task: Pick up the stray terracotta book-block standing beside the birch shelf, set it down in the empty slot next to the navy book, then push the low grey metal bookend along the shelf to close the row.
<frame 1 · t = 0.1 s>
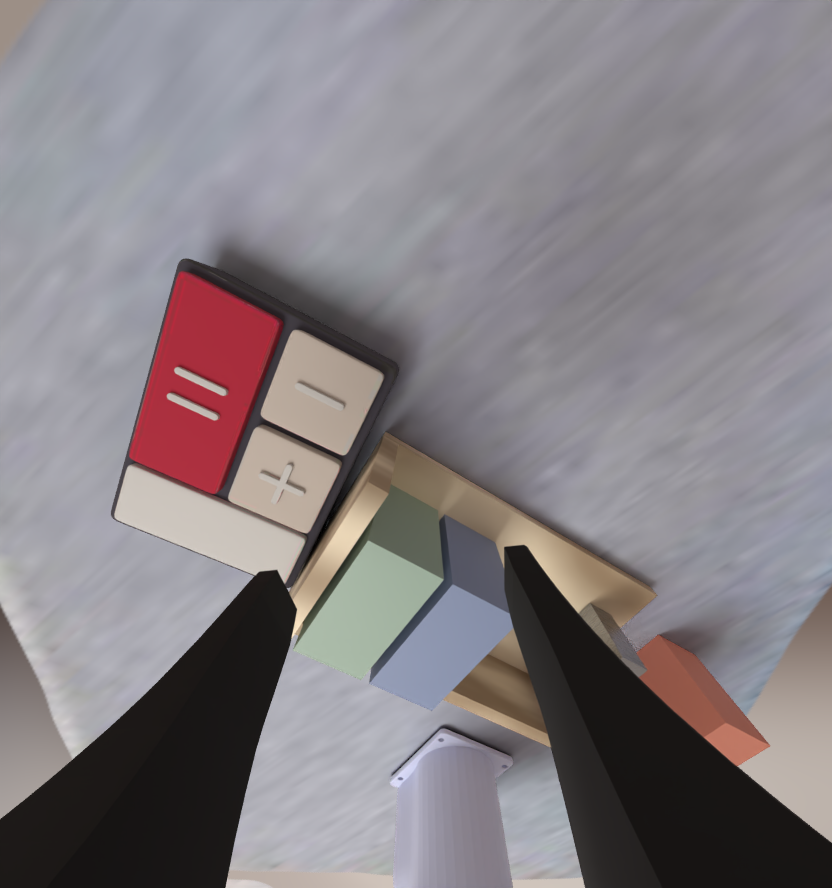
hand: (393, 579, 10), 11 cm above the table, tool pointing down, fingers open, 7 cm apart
book a: (379, 540, 22), point 1 cm above the table, touching shelf
calculator: (271, 430, 21), on the table
bookend: (579, 665, 22), point 3 cm above the table, slide at 0.0 cm
shelf: (476, 576, 23), on the table
book b: (436, 570, 22), point 1 cm above the table, touching shelf
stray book: (638, 673, 27), on the table
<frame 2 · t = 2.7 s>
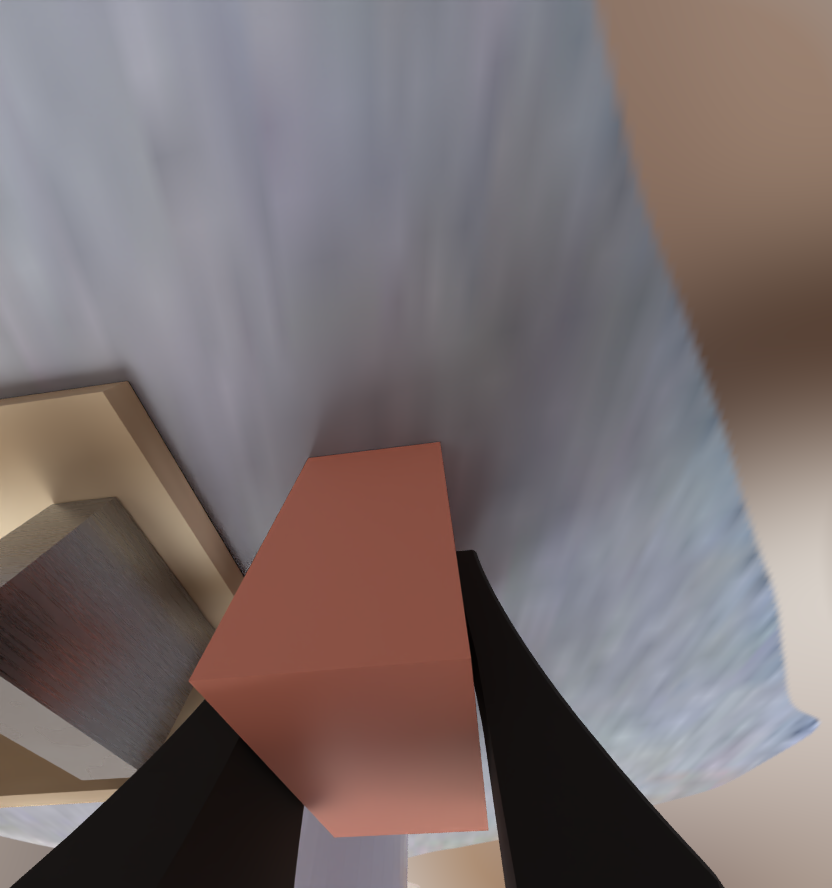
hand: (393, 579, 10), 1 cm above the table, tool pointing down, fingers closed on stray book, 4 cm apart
bookend: (98, 638, 9), point 3 cm above the table, slide at 0.0 cm
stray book: (395, 545, 12), on the table, touching gripper
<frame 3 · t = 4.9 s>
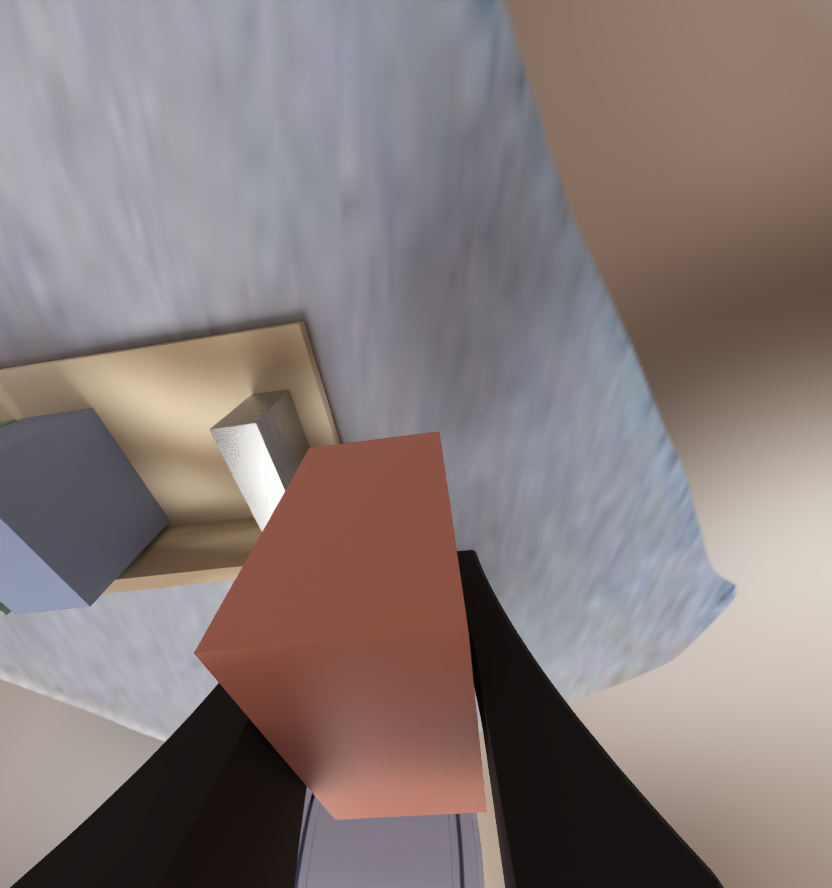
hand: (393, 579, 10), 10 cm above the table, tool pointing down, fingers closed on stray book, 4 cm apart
bookend: (279, 469, 17), point 3 cm above the table, slide at 0.0 cm
shelf: (157, 453, 20), on the table
book b: (104, 474, 19), point 1 cm above the table, touching shelf
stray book: (395, 535, 12), point 8 cm above the table, touching gripper
when the fingers open (4 cm above the table, at t = 7.3 s): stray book drops 2 cm, resting on shelf.
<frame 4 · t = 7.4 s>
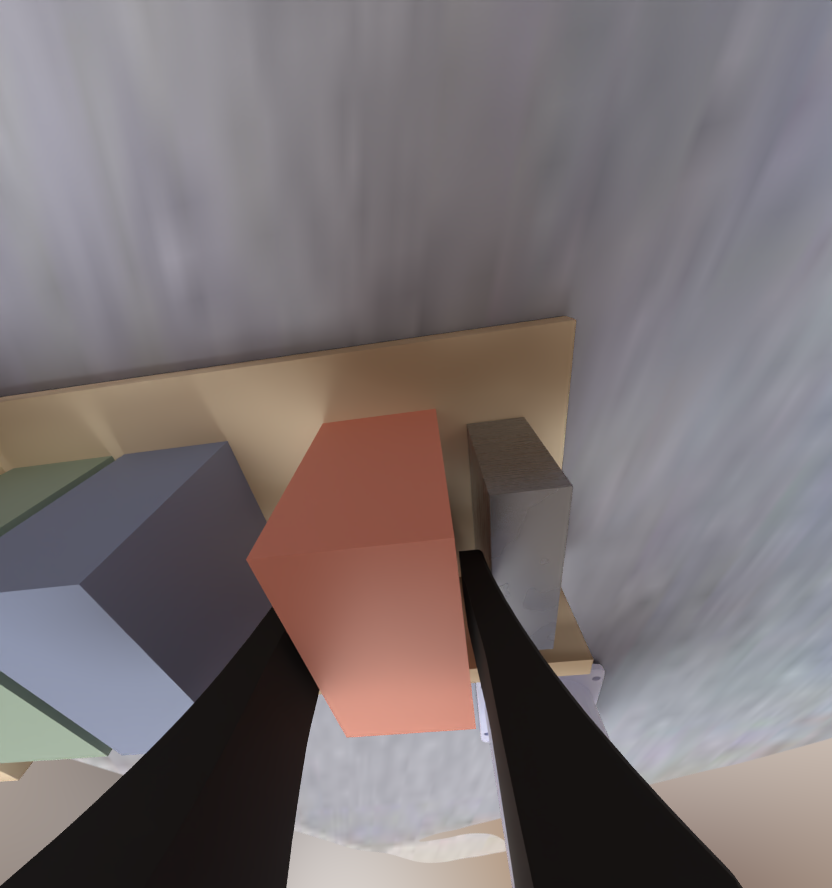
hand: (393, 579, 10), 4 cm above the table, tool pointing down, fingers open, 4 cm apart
book a: (123, 539, 14), point 1 cm above the table, touching shelf
bookend: (509, 535, 11), point 3 cm above the table, slide at 0.0 cm, touching gripper
shelf: (294, 499, 14), on the table
book b: (222, 528, 14), point 1 cm above the table, touching shelf
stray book: (397, 504, 13), point 1 cm above the table, touching shelf
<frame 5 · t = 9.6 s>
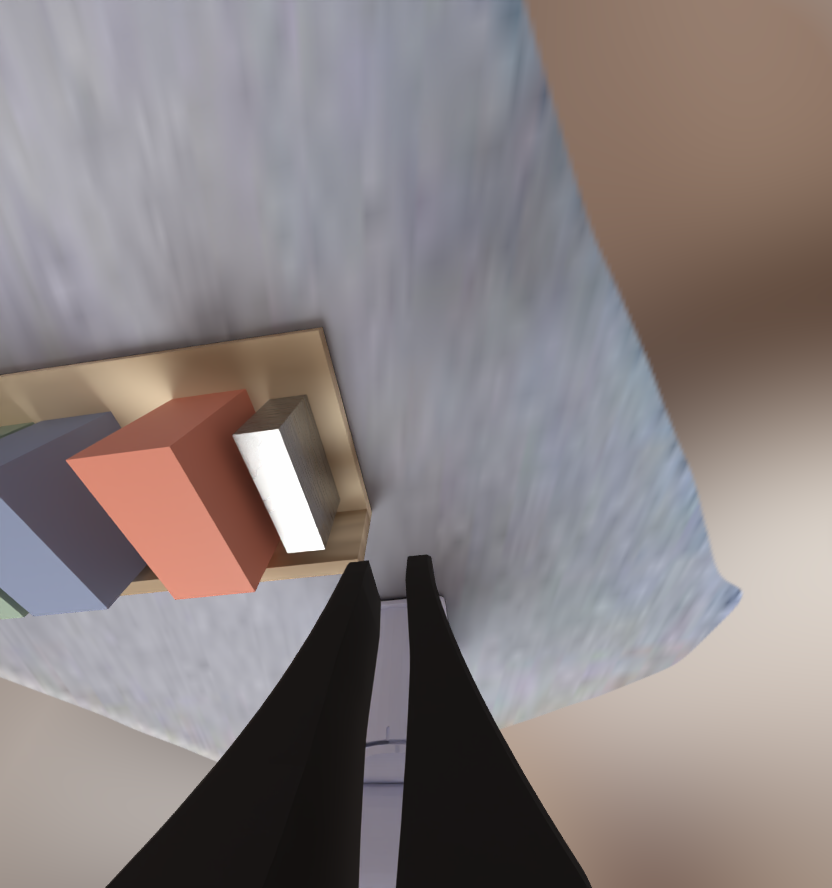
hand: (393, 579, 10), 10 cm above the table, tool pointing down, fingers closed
book a: (49, 485, 20), point 1 cm above the table, touching shelf
bookend: (297, 473, 17), point 3 cm above the table, slide at 0.0 cm
shelf: (172, 456, 20), on the table
book b: (119, 476, 19), point 1 cm above the table, touching shelf
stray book: (239, 458, 19), point 1 cm above the table, touching shelf
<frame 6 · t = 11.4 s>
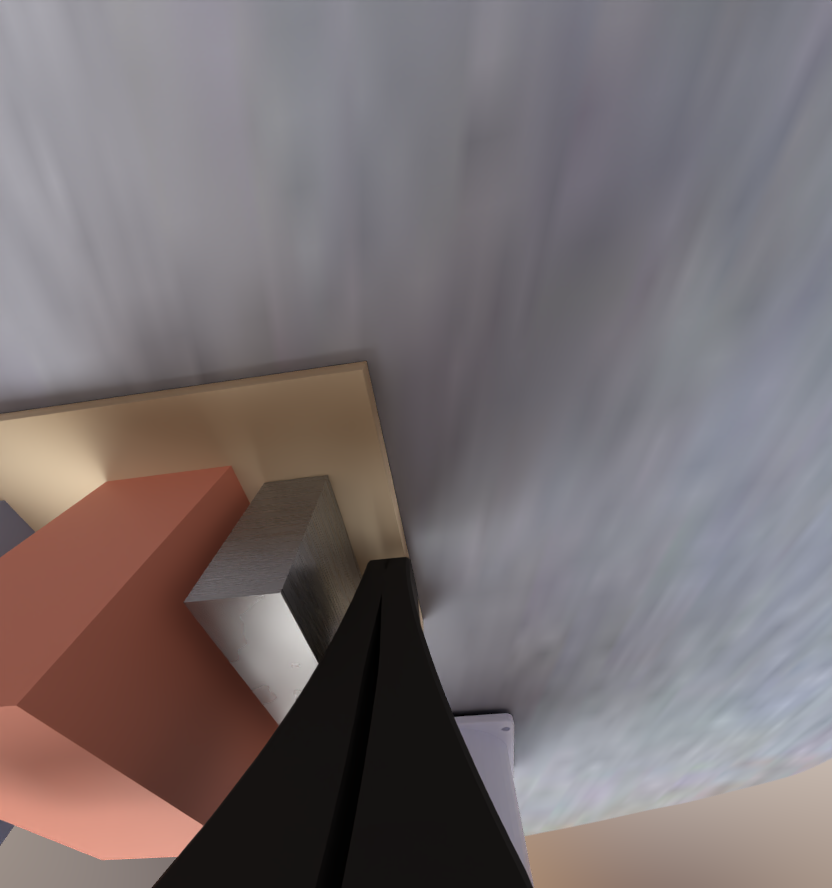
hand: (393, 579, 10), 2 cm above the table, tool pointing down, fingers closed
bookend: (312, 611, 10), point 3 cm above the table, slide at 0.2 cm, touching gripper
shelf: (121, 554, 13), on the table
book b: (36, 588, 12), point 1 cm above the table, touching shelf
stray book: (224, 564, 12), point 1 cm above the table, touching shelf
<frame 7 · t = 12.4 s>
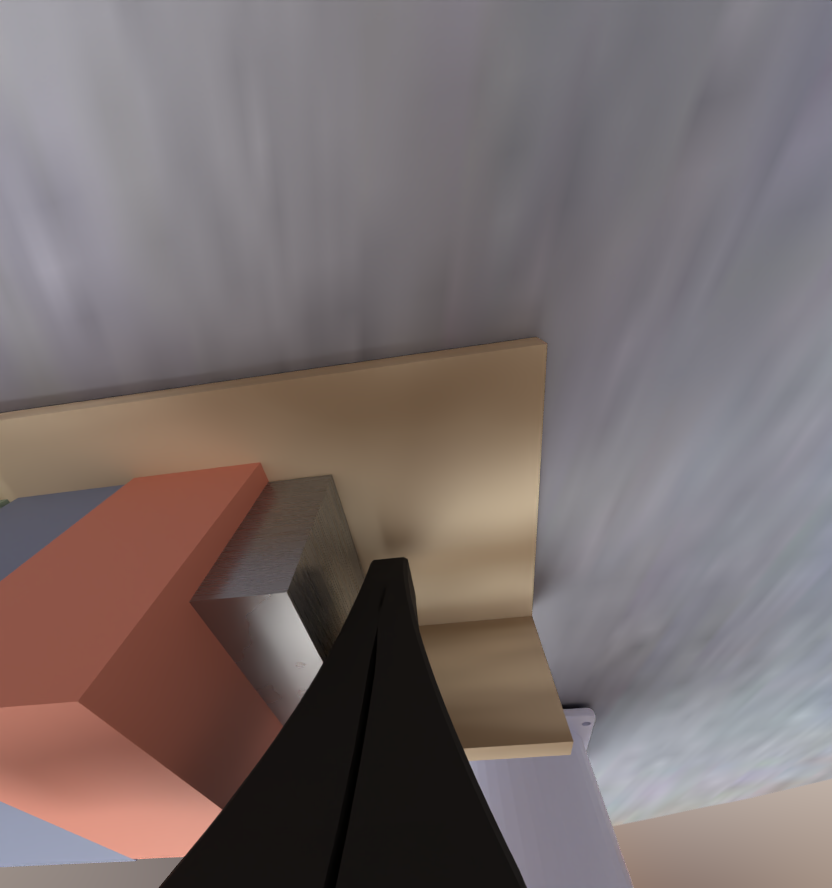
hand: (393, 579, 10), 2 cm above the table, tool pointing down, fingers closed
bookend: (315, 611, 10), point 3 cm above the table, slide at 4.7 cm, touching gripper, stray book
shelf: (234, 541, 12), on the table
book b: (146, 576, 12), point 1 cm above the table, touching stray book
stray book: (248, 562, 12), point 1 cm above the table, touching book b, bookend
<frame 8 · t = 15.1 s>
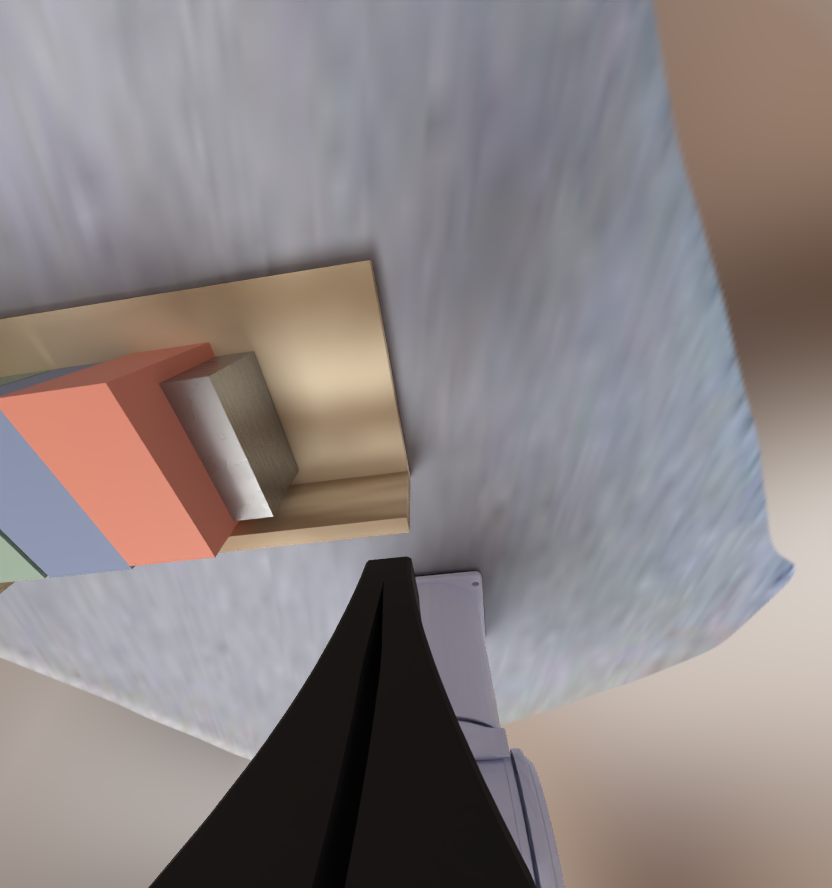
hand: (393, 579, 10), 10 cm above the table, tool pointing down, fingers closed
book a: (68, 443, 18), point 1 cm above the table, touching shelf
bookend: (243, 436, 16), point 3 cm above the table, slide at 4.8 cm, touching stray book
shelf: (200, 412, 18), on the table
book b: (139, 434, 18), point 1 cm above the table, touching shelf, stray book
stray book: (206, 422, 18), point 1 cm above the table, touching book b, bookend, shelf
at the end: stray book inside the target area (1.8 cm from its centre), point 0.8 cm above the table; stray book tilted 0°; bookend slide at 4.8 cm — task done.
